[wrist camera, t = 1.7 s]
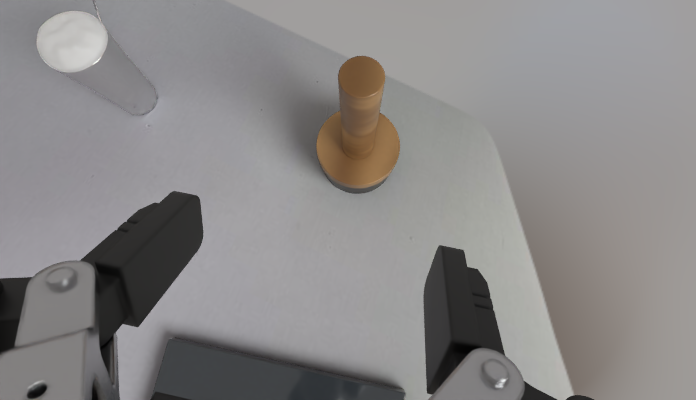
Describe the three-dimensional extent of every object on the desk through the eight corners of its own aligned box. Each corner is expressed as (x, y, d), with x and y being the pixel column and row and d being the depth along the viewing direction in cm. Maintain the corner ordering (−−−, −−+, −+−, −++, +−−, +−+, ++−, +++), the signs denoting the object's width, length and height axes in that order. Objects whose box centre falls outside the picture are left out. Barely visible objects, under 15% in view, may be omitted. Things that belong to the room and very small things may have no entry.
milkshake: (182, 97, 32) (110, 19, 23) (130, 132, 32) (33, 66, 22) (156, 62, 33) (75, -29, 23) (105, 95, 33) (0, 15, 23)
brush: (400, 132, 32) (433, 33, 19) (387, 202, 30) (413, 146, 18) (328, 119, 32) (314, 12, 19) (312, 187, 31) (285, 121, 18)
